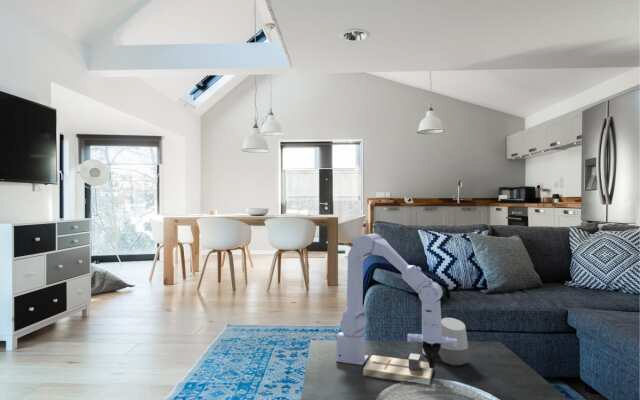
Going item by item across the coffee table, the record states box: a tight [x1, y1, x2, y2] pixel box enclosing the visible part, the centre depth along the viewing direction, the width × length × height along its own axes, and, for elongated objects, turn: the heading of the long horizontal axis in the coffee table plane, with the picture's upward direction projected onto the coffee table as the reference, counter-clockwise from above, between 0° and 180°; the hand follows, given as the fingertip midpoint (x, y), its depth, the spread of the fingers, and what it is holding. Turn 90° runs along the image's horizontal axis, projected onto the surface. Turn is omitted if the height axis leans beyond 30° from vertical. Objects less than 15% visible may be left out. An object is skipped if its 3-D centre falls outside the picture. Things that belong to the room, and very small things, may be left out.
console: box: [362, 354, 434, 382], centre depth 123 cm, size 20×12×2 cm, turn 69°
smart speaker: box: [438, 317, 469, 367], centre depth 130 cm, size 10×9×14 cm
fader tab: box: [407, 352, 421, 371], centre depth 121 cm, size 3×4×3 cm
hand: (432, 367), depth 119 cm, fingers closed
